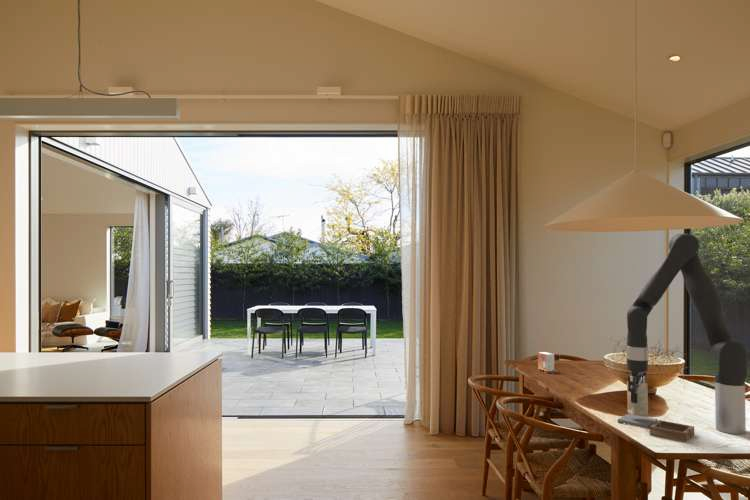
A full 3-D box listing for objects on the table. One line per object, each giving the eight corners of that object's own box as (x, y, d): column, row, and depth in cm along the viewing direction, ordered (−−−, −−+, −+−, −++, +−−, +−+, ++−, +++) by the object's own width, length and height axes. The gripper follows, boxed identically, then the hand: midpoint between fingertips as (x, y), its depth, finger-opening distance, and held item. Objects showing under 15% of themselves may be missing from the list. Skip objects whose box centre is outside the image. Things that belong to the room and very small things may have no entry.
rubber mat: (627, 416, 214) (627, 413, 214) (657, 422, 207) (657, 419, 207) (617, 422, 206) (617, 419, 206) (648, 428, 199) (648, 425, 199)
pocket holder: (659, 428, 199) (659, 420, 199) (694, 434, 191) (694, 426, 191) (649, 435, 191) (649, 426, 191) (685, 442, 183) (685, 433, 183)
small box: (537, 370, 311) (537, 352, 311) (546, 369, 313) (545, 351, 313) (546, 372, 303) (546, 354, 304) (554, 372, 305) (554, 353, 305)
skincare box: (642, 412, 209) (642, 380, 209) (648, 415, 204) (648, 383, 205) (626, 412, 208) (626, 380, 209) (632, 415, 204) (632, 383, 205)
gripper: (641, 361, 199) (641, 406, 199) (653, 357, 210) (653, 399, 209) (620, 359, 204) (620, 402, 204) (633, 354, 215) (633, 396, 214)
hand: (637, 401), depth 207 cm, fingers closed on skincare box, 7 cm apart
